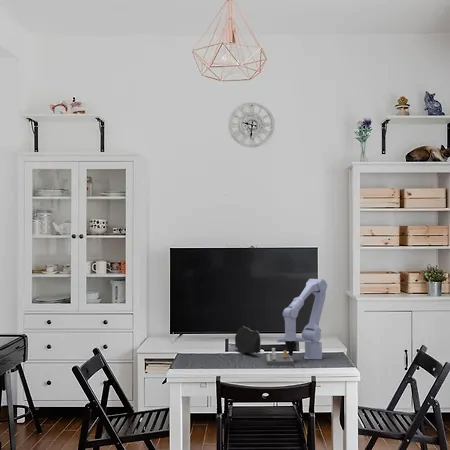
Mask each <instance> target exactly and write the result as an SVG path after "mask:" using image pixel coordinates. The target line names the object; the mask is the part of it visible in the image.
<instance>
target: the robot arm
mask: <svg viewBox="0 0 450 450" xmlns="http://www.w3.org/2000/svg"><path fill="white" fill-rule="evenodd" d="M327 288H328V284H327V282H326V280H325V279H324V278H309V279H308V280H307V282H306V283H305V287H304V289H303V290H302V292H301V293H300V295H299V296H297V297H294V298H293V300H292V301H291V303H290V304H289V305H288V307H285V308H284V309H283V311H282V317H283V320H284V331H285V332H284V336H285V337H277V338H276V342H277V343H285V346H286V348H287V349H286V350H287V353H288V354H289V356H292V357H293V353H294V349H295V347H296V346H297V342H303V343H304V356H303V358H304V360H322V359H323V346H322V344H323V343H322V342H321V339H322V338H321V337H322V328H320V327H319V326H320V322H321V321H320V320H321V316H322V314H323V313H322V312H323V309H324V305H325V304H324V303H325V300H326V297H327V296H326V295H327ZM311 294H312V295H314V301H313V304H312V309H311V311H310V312H311V313H310V317H309V321H308V323H307V324H306V325H304V328H303V330H302V332H301V337H297V334H296V333H297V332H296V331H297V330H296V329H297V325H296V323H297V322H296V321H297V318H298V315H299V312H300V310H301V309H302V307H303V306H304V304H305V300H306V299H308V297H309V296H310V295H311Z"/></svg>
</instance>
